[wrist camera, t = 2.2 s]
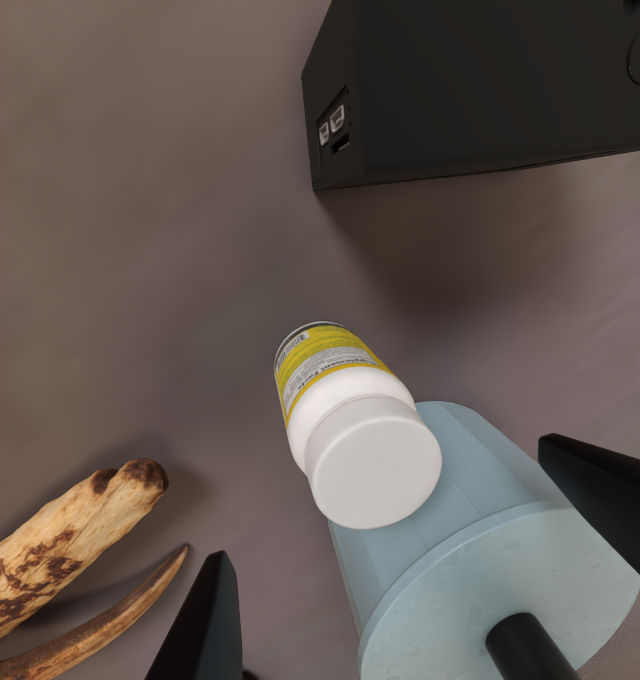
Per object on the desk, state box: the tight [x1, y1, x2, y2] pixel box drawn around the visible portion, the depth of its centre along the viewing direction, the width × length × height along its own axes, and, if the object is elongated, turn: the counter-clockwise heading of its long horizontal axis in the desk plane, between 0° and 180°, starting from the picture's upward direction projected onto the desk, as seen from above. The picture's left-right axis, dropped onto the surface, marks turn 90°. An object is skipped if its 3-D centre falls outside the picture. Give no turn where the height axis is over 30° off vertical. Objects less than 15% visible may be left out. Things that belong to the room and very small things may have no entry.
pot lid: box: [357, 498, 640, 680], centre depth 13 cm, size 13×13×4 cm
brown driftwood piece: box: [0, 458, 189, 680], centre depth 16 cm, size 9×5×18 cm
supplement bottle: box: [274, 321, 442, 530], centre depth 14 cm, size 5×5×8 cm
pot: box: [327, 401, 567, 640], centre depth 18 cm, size 12×12×8 cm
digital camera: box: [301, 0, 640, 191], centre depth 11 cm, size 10×5×7 cm, turn 96°
